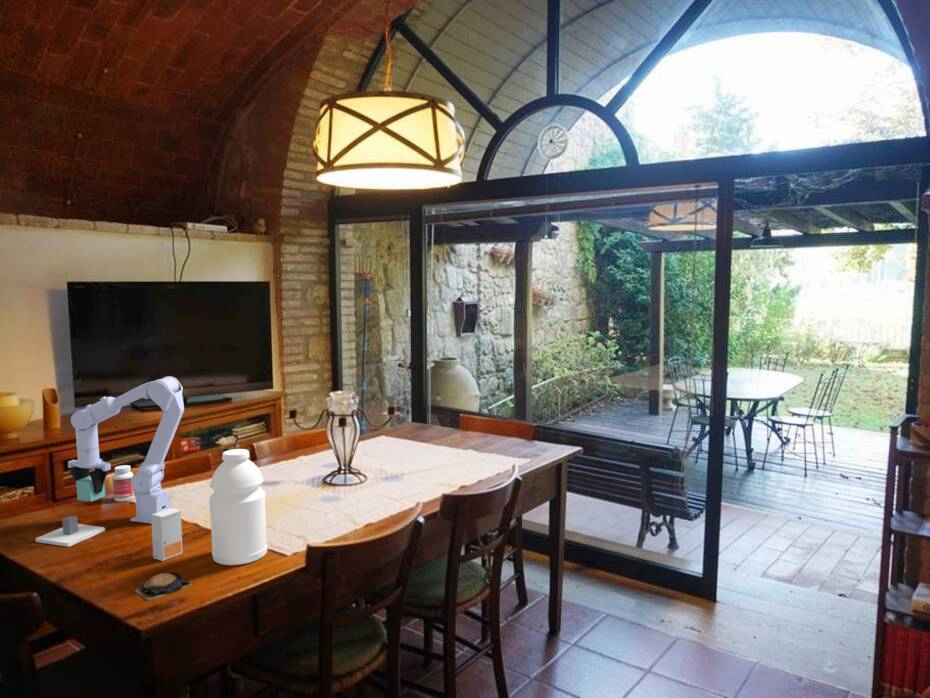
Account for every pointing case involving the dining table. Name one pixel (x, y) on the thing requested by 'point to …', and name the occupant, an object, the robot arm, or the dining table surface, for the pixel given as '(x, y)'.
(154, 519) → the skincare box
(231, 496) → the bottle
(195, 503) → the dining table surface
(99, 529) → the post base
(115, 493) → the pill bottle
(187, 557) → the dining table surface
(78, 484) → the teal toy cube
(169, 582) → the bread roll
